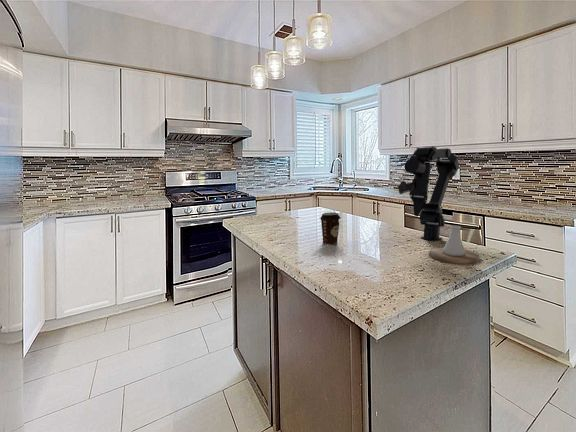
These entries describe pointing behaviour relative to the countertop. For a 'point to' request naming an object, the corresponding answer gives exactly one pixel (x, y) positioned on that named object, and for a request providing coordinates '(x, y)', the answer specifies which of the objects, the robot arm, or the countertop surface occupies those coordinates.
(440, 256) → the walnut board
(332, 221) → the coffee cup
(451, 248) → the flask
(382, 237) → the countertop surface
